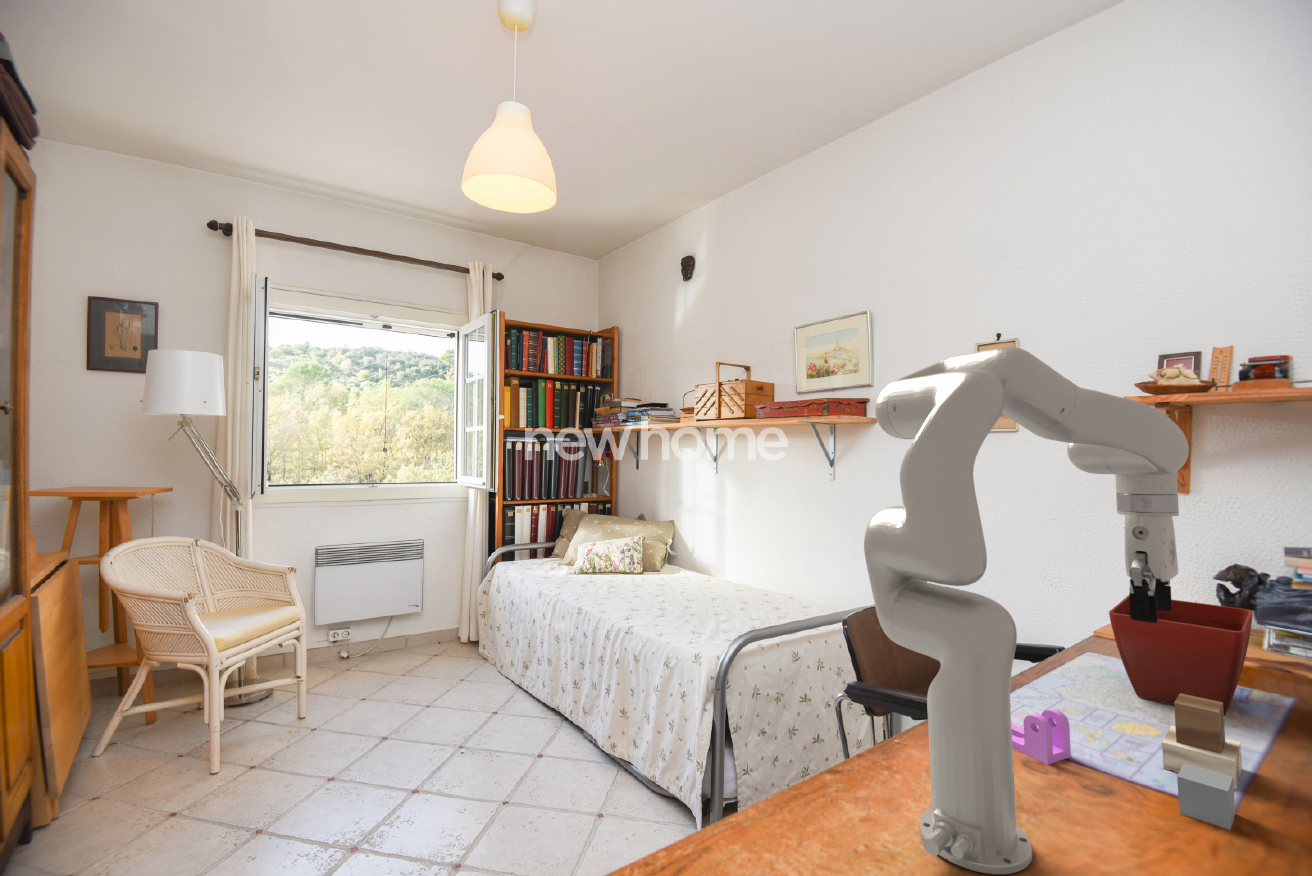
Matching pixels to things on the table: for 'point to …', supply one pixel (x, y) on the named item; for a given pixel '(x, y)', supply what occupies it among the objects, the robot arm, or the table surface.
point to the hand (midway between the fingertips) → (1151, 615)
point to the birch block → (1202, 756)
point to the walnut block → (1199, 723)
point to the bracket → (1043, 736)
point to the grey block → (1206, 795)
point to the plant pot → (1183, 650)
